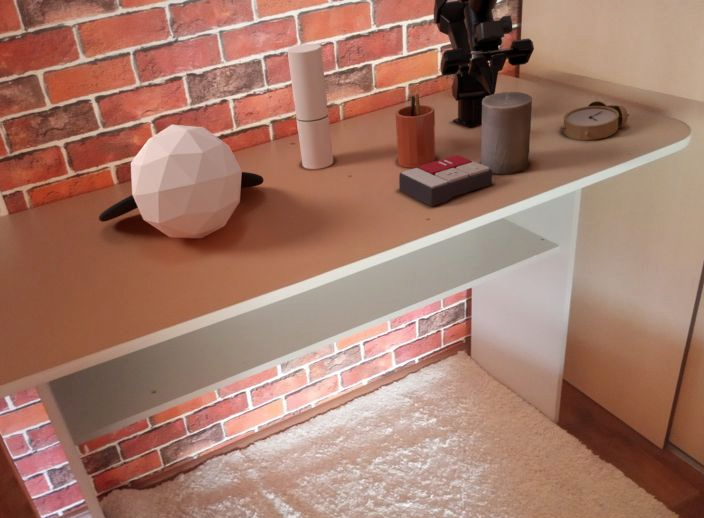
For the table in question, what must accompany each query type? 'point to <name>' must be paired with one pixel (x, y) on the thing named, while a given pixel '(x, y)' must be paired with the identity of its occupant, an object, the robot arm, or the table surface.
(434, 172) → the calculator
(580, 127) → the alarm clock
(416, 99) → the pencils
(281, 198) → the table surface
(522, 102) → the pillar candle
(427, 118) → the pen pot
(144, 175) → the faceted geodesic sphere
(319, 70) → the cylindrical container
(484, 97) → the robot arm
